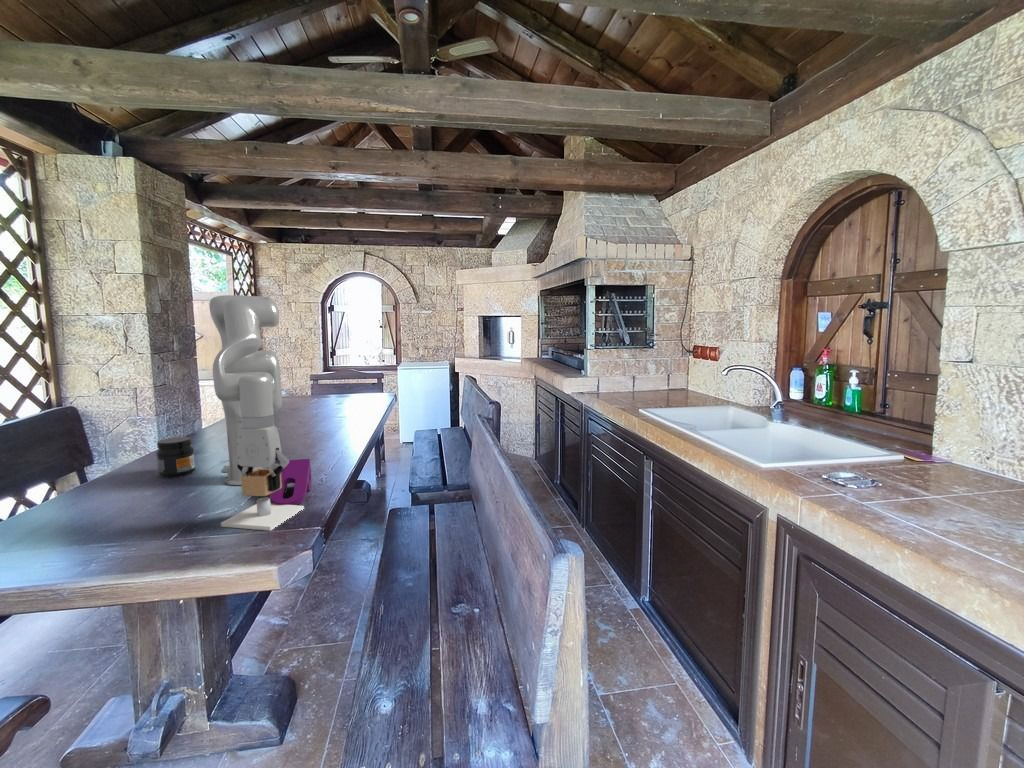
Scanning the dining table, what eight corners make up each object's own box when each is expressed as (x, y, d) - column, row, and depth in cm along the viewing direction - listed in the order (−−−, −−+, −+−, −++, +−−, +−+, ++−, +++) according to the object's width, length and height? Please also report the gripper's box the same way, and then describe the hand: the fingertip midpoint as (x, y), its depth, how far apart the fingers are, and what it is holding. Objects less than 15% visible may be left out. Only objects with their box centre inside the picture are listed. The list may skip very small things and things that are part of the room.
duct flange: (221, 526, 121) (219, 507, 121) (259, 505, 135) (258, 488, 134) (270, 530, 119) (269, 511, 118) (304, 509, 132) (303, 492, 132)
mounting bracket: (307, 521, 139) (312, 478, 153) (304, 501, 134) (309, 458, 149) (271, 525, 136) (280, 481, 151) (267, 504, 132) (276, 461, 146)
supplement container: (202, 472, 166) (199, 438, 164) (169, 480, 157) (165, 445, 155) (184, 467, 171) (182, 435, 169) (151, 476, 162) (148, 441, 160)
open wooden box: (242, 494, 123) (241, 476, 122) (260, 486, 129) (259, 468, 129) (265, 496, 122) (264, 477, 121) (282, 487, 128) (280, 469, 128)
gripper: (217, 424, 121) (223, 492, 123) (278, 426, 118) (283, 495, 120) (239, 419, 129) (244, 483, 131) (297, 420, 126) (301, 486, 128)
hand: (262, 488), depth 125 cm, fingers closed on open wooden box, 6 cm apart
